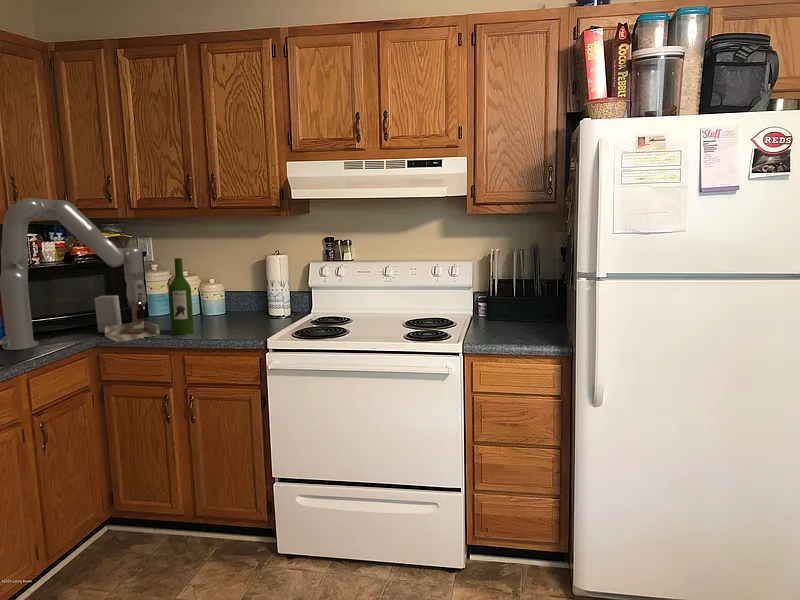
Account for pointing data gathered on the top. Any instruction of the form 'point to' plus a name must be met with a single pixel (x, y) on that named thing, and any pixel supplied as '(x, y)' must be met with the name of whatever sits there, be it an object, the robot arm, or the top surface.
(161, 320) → the top surface
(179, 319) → the wine bottle
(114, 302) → the skincare box
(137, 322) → the skincare box
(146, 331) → the tray
